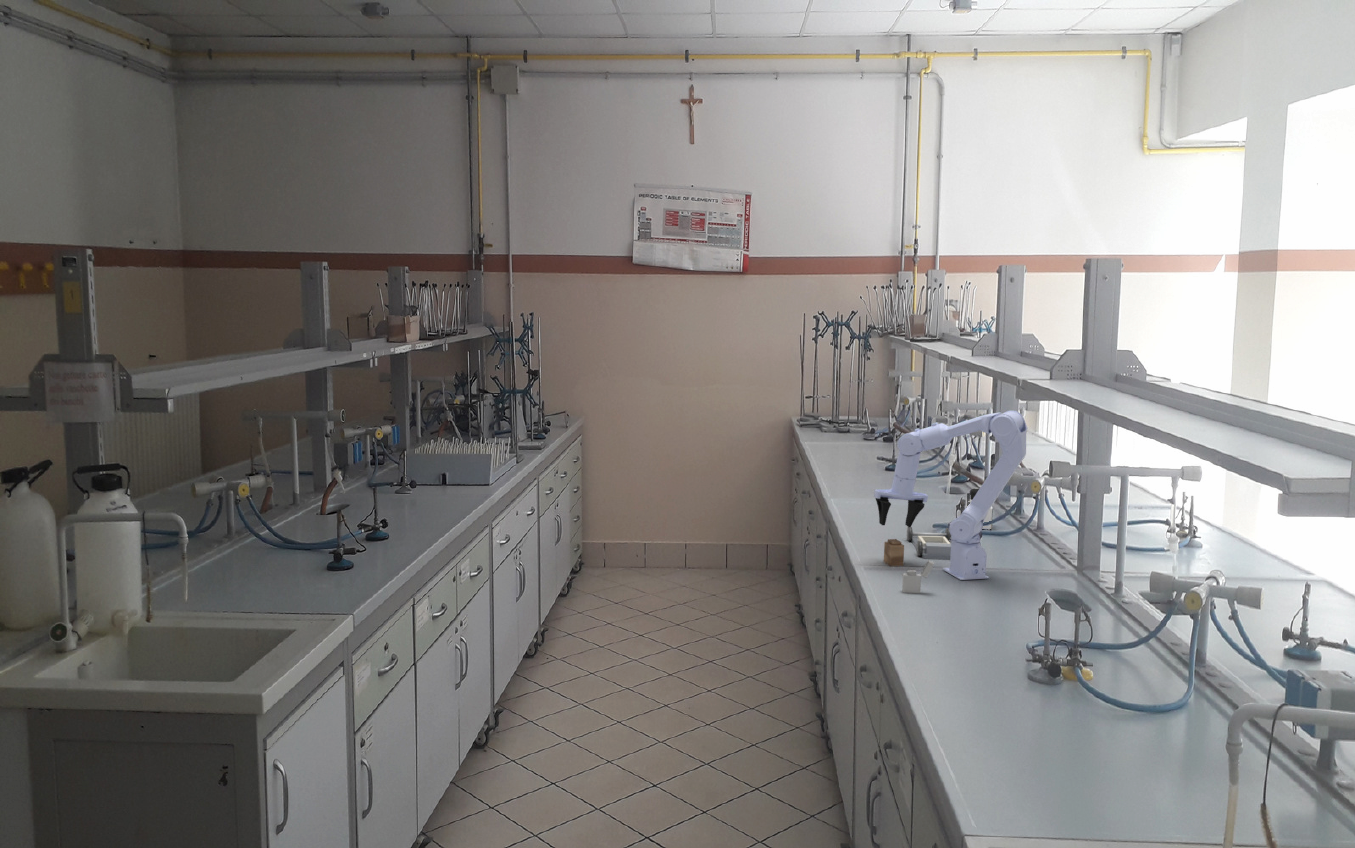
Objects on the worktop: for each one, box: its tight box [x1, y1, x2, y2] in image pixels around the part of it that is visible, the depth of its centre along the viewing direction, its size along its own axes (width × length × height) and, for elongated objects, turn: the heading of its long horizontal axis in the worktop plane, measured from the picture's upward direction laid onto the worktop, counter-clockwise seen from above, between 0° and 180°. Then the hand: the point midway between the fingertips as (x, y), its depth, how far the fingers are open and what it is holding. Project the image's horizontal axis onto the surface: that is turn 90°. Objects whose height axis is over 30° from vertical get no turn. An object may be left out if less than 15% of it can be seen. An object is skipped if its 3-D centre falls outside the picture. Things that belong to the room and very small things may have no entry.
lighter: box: [901, 559, 935, 594], centre depth 232 cm, size 7×2×8 cm, turn 84°
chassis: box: [906, 526, 952, 560], centre depth 272 cm, size 22×12×4 cm, turn 176°
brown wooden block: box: [883, 538, 905, 567], centre depth 257 cm, size 4×4×6 cm
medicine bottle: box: [969, 487, 994, 529], centre depth 298 cm, size 7×7×12 cm
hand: (895, 525), depth 257 cm, fingers open, 7 cm apart
